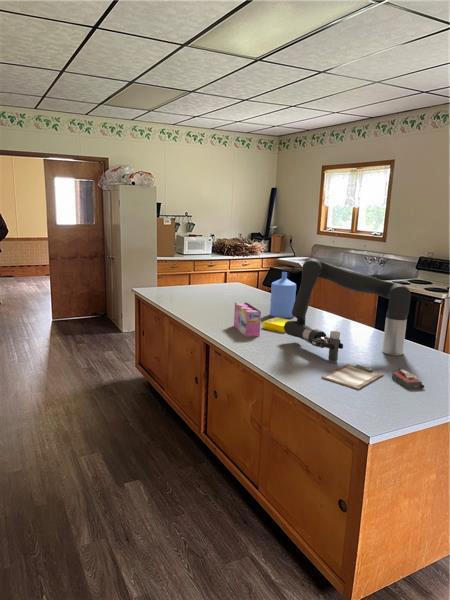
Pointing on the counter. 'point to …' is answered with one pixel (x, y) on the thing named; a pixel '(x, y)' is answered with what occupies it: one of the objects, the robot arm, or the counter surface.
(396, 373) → the walkie-talkie
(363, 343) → the counter surface
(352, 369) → the clipboard
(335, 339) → the bottle
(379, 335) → the counter surface
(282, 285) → the water jug
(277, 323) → the element tile
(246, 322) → the pink multipack package
